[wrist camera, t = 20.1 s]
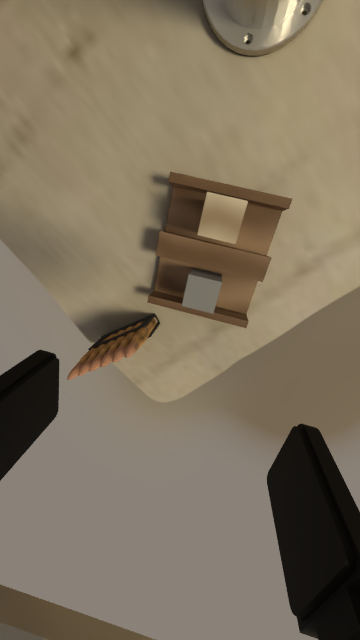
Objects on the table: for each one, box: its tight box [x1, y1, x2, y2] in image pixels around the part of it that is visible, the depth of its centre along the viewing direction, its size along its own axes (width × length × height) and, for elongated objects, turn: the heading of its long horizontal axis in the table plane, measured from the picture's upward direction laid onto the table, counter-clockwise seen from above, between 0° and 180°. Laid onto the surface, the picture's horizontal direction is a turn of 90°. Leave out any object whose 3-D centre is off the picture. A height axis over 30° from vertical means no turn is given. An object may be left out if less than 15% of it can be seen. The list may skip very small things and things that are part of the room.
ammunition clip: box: [67, 314, 160, 380], centre depth 34 cm, size 11×2×12 cm, turn 116°
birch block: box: [197, 192, 248, 244], centre depth 27 cm, size 4×4×8 cm
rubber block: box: [182, 267, 222, 314], centre depth 31 cm, size 4×4×6 cm
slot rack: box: [148, 172, 292, 328], centre depth 31 cm, size 16×14×4 cm
